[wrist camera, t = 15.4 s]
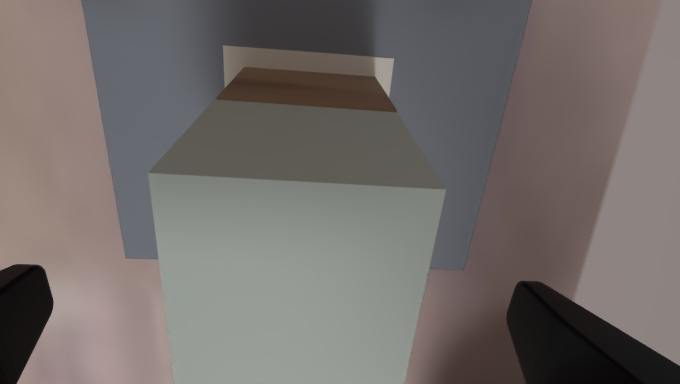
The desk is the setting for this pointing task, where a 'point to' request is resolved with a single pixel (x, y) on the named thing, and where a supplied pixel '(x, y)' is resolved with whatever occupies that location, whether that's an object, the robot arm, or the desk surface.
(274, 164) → the sage block
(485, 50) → the blueprint board
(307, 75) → the walnut block
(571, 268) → the desk surface
